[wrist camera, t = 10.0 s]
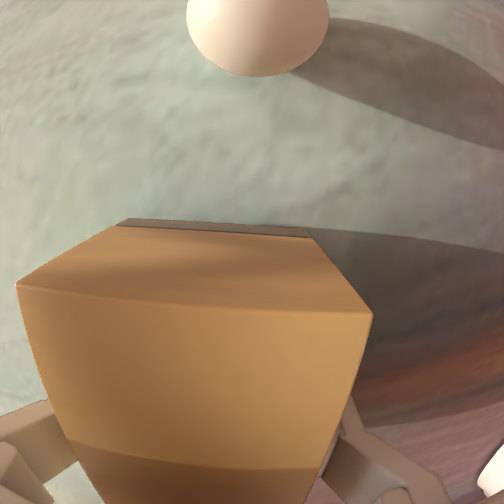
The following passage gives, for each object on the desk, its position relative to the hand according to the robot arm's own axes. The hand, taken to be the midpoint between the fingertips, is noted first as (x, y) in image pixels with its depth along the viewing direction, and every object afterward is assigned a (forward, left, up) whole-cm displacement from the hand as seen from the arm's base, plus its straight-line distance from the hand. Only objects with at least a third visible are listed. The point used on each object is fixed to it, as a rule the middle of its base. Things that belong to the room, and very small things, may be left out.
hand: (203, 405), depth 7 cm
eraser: (0, -1, -2) cm, 2 cm away
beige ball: (-1, -10, -1) cm, 10 cm away
